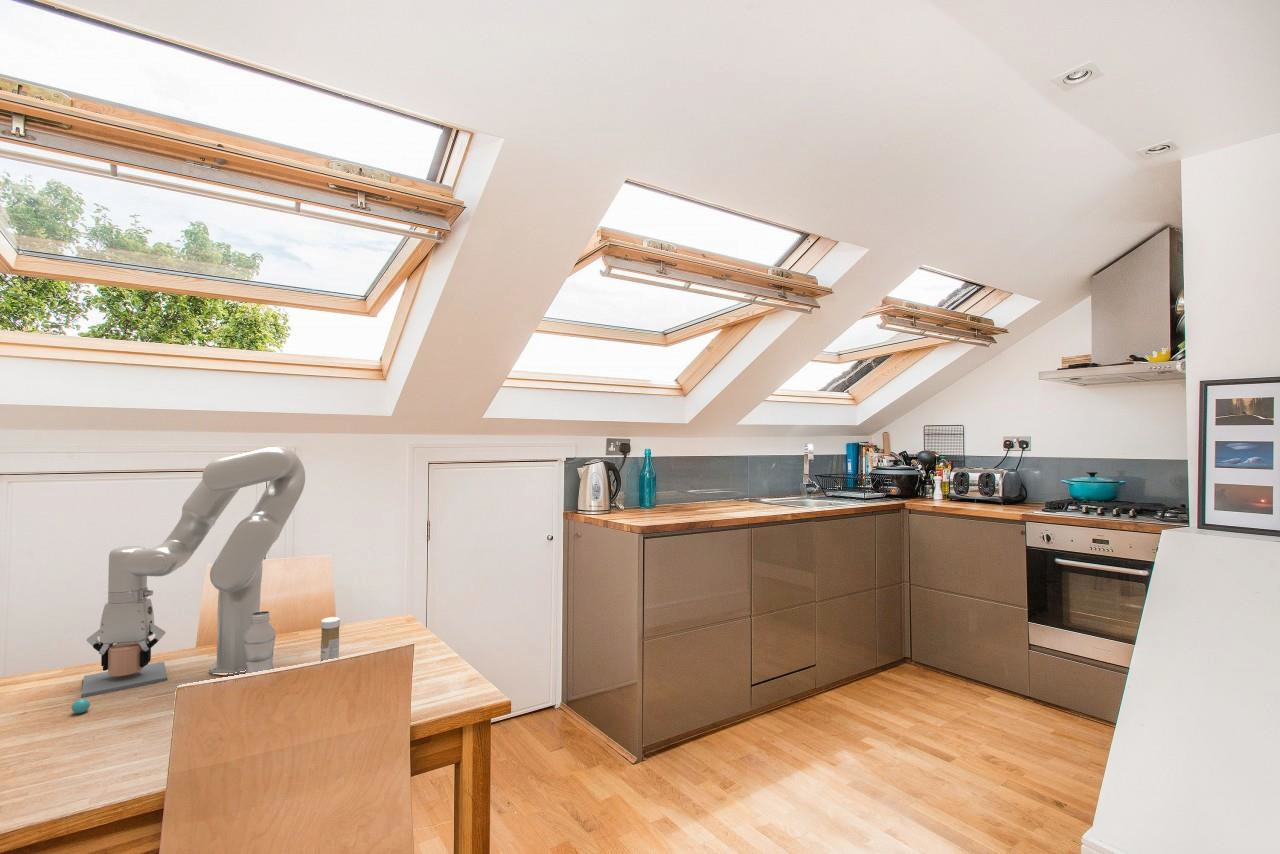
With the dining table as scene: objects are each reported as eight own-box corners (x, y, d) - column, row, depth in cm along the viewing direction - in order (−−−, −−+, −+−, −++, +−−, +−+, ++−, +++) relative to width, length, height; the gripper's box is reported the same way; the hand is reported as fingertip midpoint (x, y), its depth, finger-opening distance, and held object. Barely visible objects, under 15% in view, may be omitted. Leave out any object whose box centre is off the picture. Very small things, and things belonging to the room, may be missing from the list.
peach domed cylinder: (150, 666, 158) (150, 640, 159) (127, 676, 152) (127, 650, 152) (125, 665, 159) (125, 640, 159) (100, 675, 152) (101, 649, 152)
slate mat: (163, 664, 166) (163, 661, 166) (167, 680, 155) (167, 677, 155) (83, 679, 155) (83, 675, 155) (81, 697, 145) (81, 694, 145)
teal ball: (93, 709, 138) (93, 696, 138) (80, 716, 135) (81, 702, 135) (80, 709, 138) (80, 696, 139) (67, 715, 136) (67, 701, 136)
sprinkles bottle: (316, 670, 163) (317, 619, 163) (334, 665, 166) (335, 615, 167) (324, 674, 160) (325, 622, 160) (342, 669, 163) (343, 618, 164)
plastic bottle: (281, 694, 148) (283, 610, 148) (256, 706, 141) (257, 618, 141) (261, 690, 150) (263, 608, 150) (235, 701, 143) (237, 615, 144)
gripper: (174, 590, 162) (173, 658, 161) (93, 594, 156) (92, 665, 156) (162, 597, 154) (160, 668, 154) (76, 602, 149) (75, 676, 149)
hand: (126, 666), depth 155 cm, fingers closed on peach domed cylinder, 7 cm apart
